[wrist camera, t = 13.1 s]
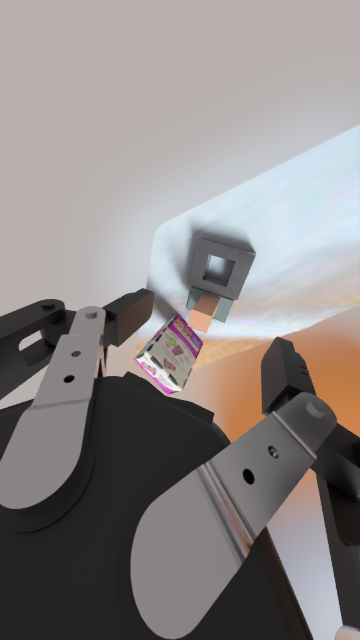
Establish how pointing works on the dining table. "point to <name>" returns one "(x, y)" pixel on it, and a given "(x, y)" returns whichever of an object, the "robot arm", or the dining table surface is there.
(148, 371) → the candy bar box
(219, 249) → the grey socket frame
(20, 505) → the robot arm
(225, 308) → the mat
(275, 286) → the dining table surface
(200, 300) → the plug
